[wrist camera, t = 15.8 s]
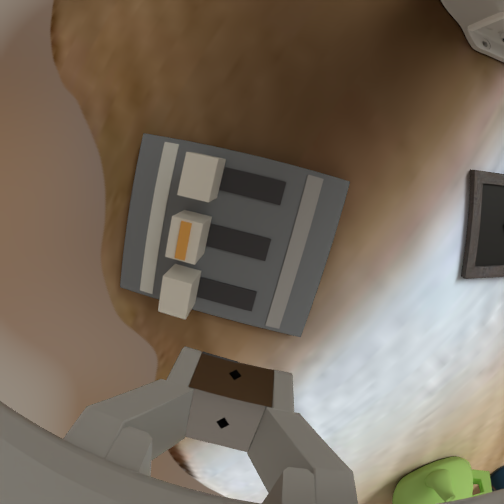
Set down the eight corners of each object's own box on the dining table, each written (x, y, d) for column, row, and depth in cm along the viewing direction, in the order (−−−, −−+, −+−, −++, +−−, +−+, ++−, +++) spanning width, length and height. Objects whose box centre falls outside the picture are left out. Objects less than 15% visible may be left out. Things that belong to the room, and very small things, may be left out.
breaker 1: (201, 270, 34) (191, 284, 30) (195, 303, 35) (185, 319, 31) (175, 263, 34) (162, 275, 30) (169, 296, 35) (158, 311, 32)
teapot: (423, 501, 48) (436, 546, 34) (364, 494, 47) (372, 550, 33) (482, 452, 43) (505, 498, 29) (430, 441, 42) (454, 500, 28)
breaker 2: (226, 159, 31) (218, 158, 27) (217, 197, 32) (208, 202, 28) (197, 152, 31) (186, 151, 27) (189, 191, 32) (177, 194, 28)
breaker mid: (212, 216, 33) (202, 224, 29) (204, 253, 34) (194, 265, 30) (184, 209, 33) (171, 216, 29) (177, 246, 34) (164, 257, 30)
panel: (346, 180, 33) (350, 181, 30) (299, 328, 38) (300, 338, 36) (150, 134, 33) (142, 133, 31) (127, 281, 38) (119, 287, 36)
